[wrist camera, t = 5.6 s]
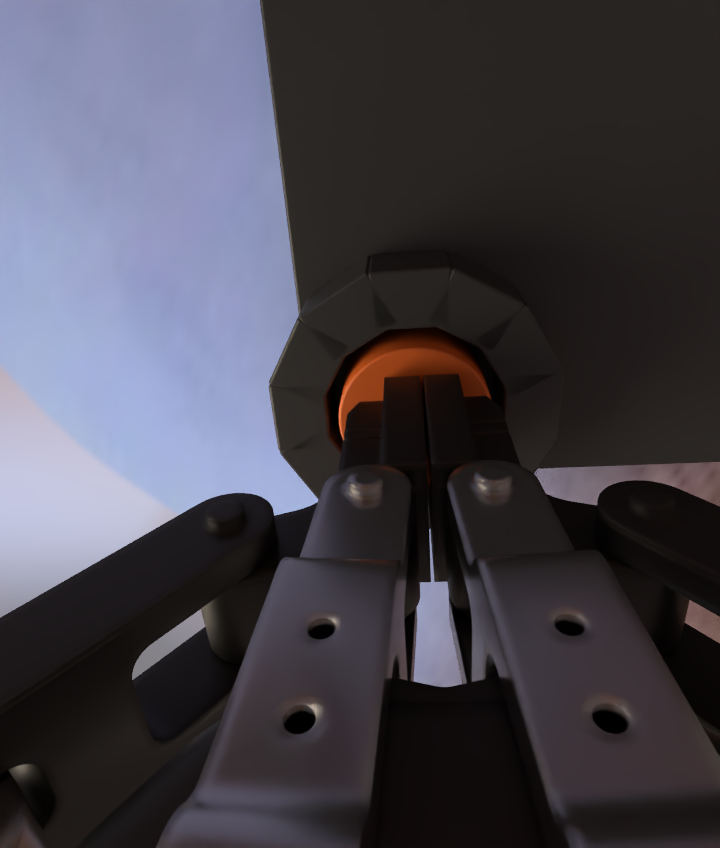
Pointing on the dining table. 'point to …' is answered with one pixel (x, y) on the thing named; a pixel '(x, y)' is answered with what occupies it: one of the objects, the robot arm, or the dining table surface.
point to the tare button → (408, 365)
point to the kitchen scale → (507, 213)
